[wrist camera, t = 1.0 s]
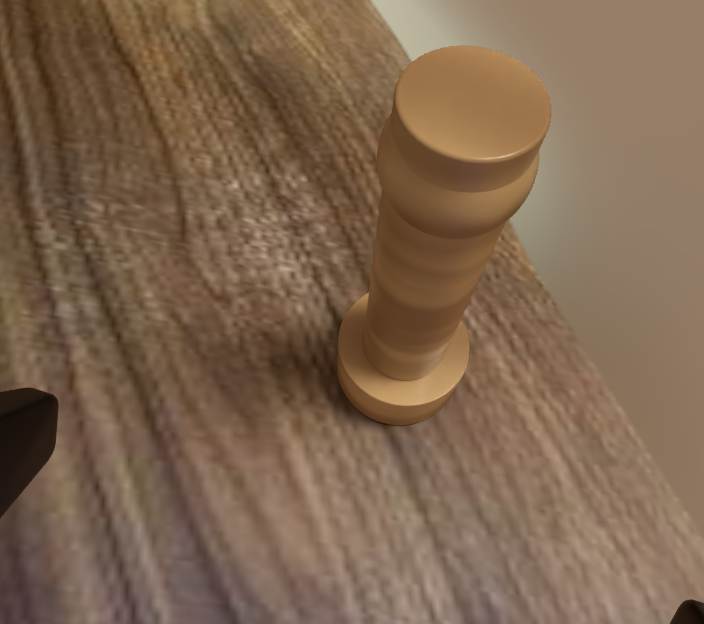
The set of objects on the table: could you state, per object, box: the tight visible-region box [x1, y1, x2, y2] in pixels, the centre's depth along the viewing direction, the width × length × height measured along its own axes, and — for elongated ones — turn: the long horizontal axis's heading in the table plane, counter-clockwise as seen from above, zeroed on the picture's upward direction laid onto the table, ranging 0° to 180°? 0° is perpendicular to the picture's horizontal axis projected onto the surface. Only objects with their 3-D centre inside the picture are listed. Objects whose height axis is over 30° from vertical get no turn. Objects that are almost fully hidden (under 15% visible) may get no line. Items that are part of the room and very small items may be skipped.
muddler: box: [337, 46, 551, 425], centre depth 17 cm, size 5×5×14 cm
